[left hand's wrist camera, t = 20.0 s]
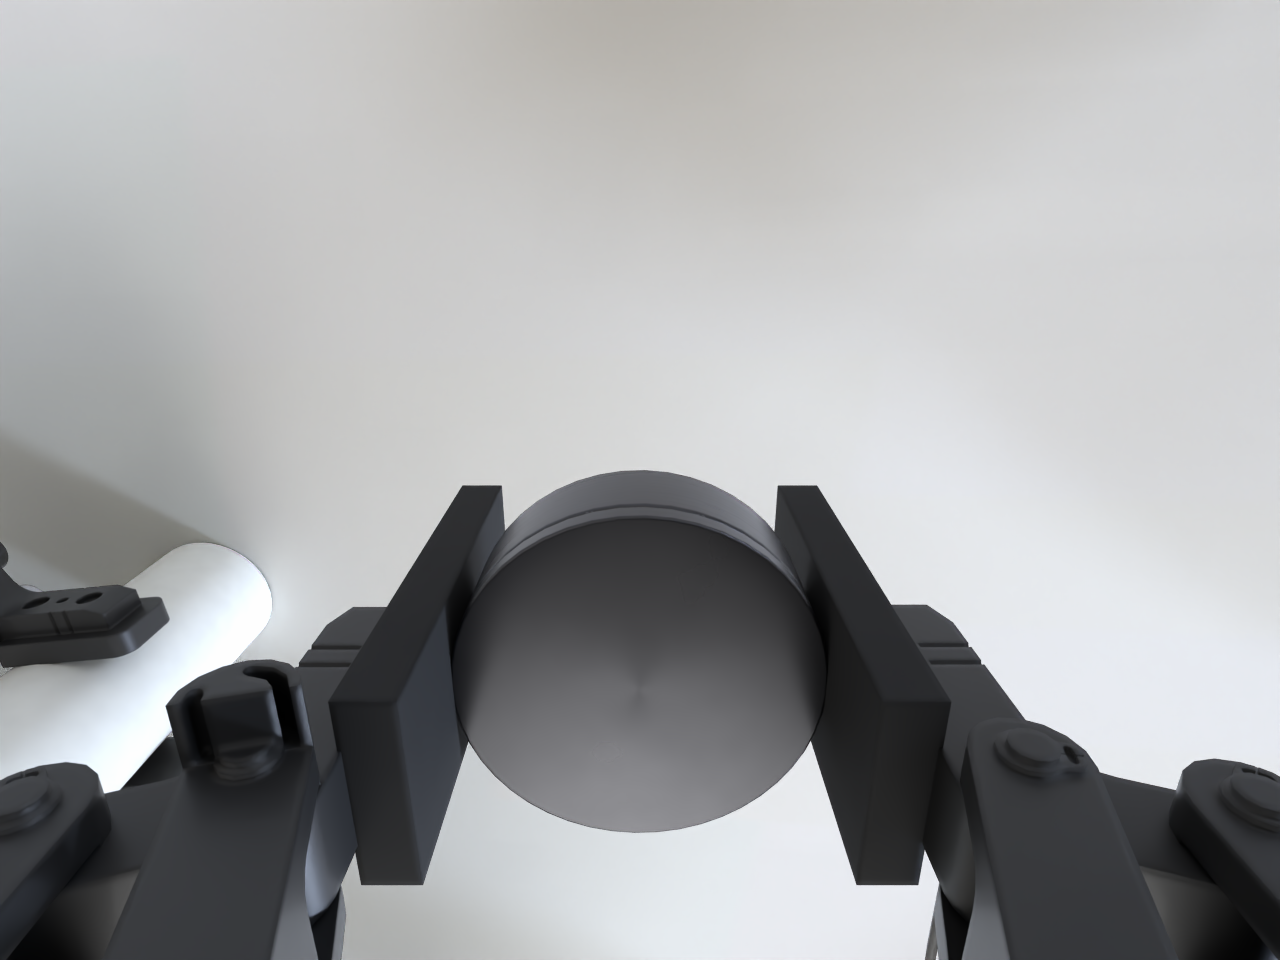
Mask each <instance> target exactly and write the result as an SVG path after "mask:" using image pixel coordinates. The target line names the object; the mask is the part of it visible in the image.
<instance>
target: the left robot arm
mask: <svg viewBox="0 0 1280 960" xmlns="http://www.w3.org/2000/svg"><path fill="white" fill-rule="evenodd" d="M504 532H505V525H504V511H503V497H502V486H462V487H461V489H460V490H459V492H458V494H457V495H456V497H455V498H454V500H453V502H452V503H451V505H450V507H449V508H448V510H447V511H446V513H445V515H444V516H443V518H442V519H441V521H440V523H439V524H438V526H437V527H436V529H435V531H434V532H433V534H432V535H431V537H430V539H429V540H428V542H427V543H426V545H425V547H424V548H423V550H422V551H421V553H420V555H419V556H418V558H417V560H416V561H415V563H414V564H413V566H412V568H411V569H410V571H409V572H408V574H407V576H406V577H405V579H404V580H403V582H402V584H401V585H400V587H399V588H398V590H397V592H396V593H395V595H394V596H393V598H392V600H391V601H390V603H389V604H388V606H387V607H353V608H351V609H350V610H348V611H347V612H345V613H344V614H342V615H341V616H339V617H338V618H336V619H335V620H333V621H332V622H330V623H329V624H328V625H327V626H326V627H325V628H324V630H323V631H322V632H321V634H320V635H319V636H318V638H317V639H316V640H315V642H314V643H313V644H312V649H311V650H308V651H307V653H306V654H305V655H304V657H303V658H302V659H301V661H300V662H299V667H296V668H293V667H292V666H291V665H290V664H288V663H284V662H279V661H275V660H249V661H244V662H240V663H235V664H231V665H227V666H223V667H220V668H218V669H215V670H213V671H211V672H208V673H206V674H204V675H201V676H199V677H197V678H196V679H194V680H193V681H191V682H190V683H188V684H187V685H185V686H184V687H182V688H181V689H179V690H178V691H177V692H176V693H175V695H174V696H173V697H172V698H171V699H170V701H169V702H168V703H167V704H166V706H165V707H166V711H167V714H168V718H169V721H170V725H171V728H172V732H173V736H174V739H175V743H176V746H177V750H178V754H179V757H180V761H181V764H182V768H183V769H182V771H181V773H180V776H177V777H173V778H170V779H166V780H163V781H159V782H154V783H149V784H145V785H140V786H136V787H131V788H127V789H122V790H118V791H113V792H109V793H104V791H103V788H102V785H101V782H100V779H99V776H98V774H97V773H96V772H95V771H94V770H92V769H91V768H90V767H89V766H87V765H85V764H78V763H70V762H62V763H55V764H48V765H41V766H37V767H34V768H30V769H26V770H25V771H20V772H18V773H15V774H12V775H10V776H7V777H5V778H4V779H2V780H0V960H341V958H342V949H343V939H344V930H345V920H346V911H345V904H344V897H343V892H342V887H341V883H342V881H343V879H344V876H345V874H346V872H347V870H348V867H349V865H350V863H351V860H352V858H353V856H354V854H355V853H356V858H357V864H358V869H359V875H360V880H361V885H423V883H424V880H425V877H426V874H427V871H428V867H429V864H430V861H431V858H432V855H433V852H434V848H435V845H436V842H437V839H438V836H439V833H440V830H441V826H442V823H443V820H444V817H445V814H446V811H447V807H448V804H449V801H450V798H451V795H452V792H453V788H454V785H455V782H456V779H457V776H458V773H459V770H460V766H461V763H462V760H463V757H464V754H465V751H466V747H467V744H468V739H467V737H466V735H465V733H464V731H463V729H462V727H461V724H460V721H459V718H458V715H457V712H456V708H455V701H454V692H453V683H452V672H451V659H452V653H453V647H454V641H455V638H456V635H457V632H458V629H459V626H460V623H461V620H462V618H463V615H464V613H465V611H466V609H467V606H468V604H469V601H470V599H471V597H472V594H473V592H474V590H475V587H476V585H477V583H478V580H479V578H480V575H481V573H482V571H483V568H484V566H485V564H486V562H487V560H488V558H489V556H490V554H491V552H492V550H493V548H494V546H495V545H496V543H497V542H498V541H499V539H500V538H501V536H502V535H503V533H504ZM775 533H776V535H777V536H778V537H779V538H780V540H781V542H782V543H783V545H784V547H785V548H786V550H787V552H788V553H789V555H790V557H791V560H792V562H793V564H794V567H795V569H796V571H797V574H798V576H799V578H800V581H801V583H802V586H803V588H804V590H805V593H806V595H807V597H808V600H809V602H810V604H811V607H812V609H813V611H814V614H815V616H816V619H817V621H818V623H819V626H820V628H821V630H822V634H823V638H824V642H825V646H826V650H827V660H828V677H827V687H826V696H825V704H824V709H823V713H822V716H821V718H820V721H819V724H818V726H817V729H816V731H815V734H814V735H813V737H812V739H811V743H812V746H813V749H814V752H815V755H816V758H817V761H818V765H819V768H820V771H821V774H822V777H823V780H824V784H825V787H826V790H827V793H828V796H829V799H830V802H831V806H832V809H833V812H834V815H835V818H836V821H837V825H838V828H839V831H840V834H841V837H842V840H843V844H844V847H845V850H846V853H847V856H848V859H849V862H850V866H851V869H852V872H853V875H854V878H855V881H856V885H918V883H919V878H920V872H921V867H922V861H923V856H924V850H925V851H926V853H927V856H928V858H929V860H930V862H931V865H932V867H933V869H934V871H935V874H936V876H937V878H938V881H939V887H938V892H937V897H936V902H935V907H934V913H933V918H932V923H931V928H930V933H929V938H928V943H927V950H926V957H925V960H936V955H937V950H938V956H939V960H1280V777H1279V776H1278V775H1276V774H1274V773H1272V772H1269V771H1267V770H1264V769H1261V768H1257V767H1255V766H1252V765H1248V764H1244V763H1241V762H1235V761H1228V760H1220V759H1208V760H1201V761H1194V762H1193V763H1191V764H1190V765H1189V766H1188V767H1186V768H1185V769H1184V770H1183V771H1182V774H1181V777H1180V780H1179V783H1178V786H1177V789H1176V790H1172V789H1168V788H1163V787H1159V786H1154V785H1149V784H1145V783H1140V782H1136V781H1131V780H1127V779H1122V778H1117V777H1114V776H1110V775H1107V774H1103V773H1100V772H1099V770H1098V768H1097V766H1096V765H1095V763H1094V762H1093V760H1092V759H1091V758H1090V756H1089V755H1088V753H1087V752H1086V751H1085V750H1084V749H1083V748H1081V747H1080V746H1079V745H1077V744H1076V743H1075V742H1074V741H1072V740H1071V739H1070V738H1068V737H1067V736H1065V735H1063V734H1061V733H1059V732H1057V731H1055V730H1053V729H1051V728H1049V727H1047V726H1045V725H1042V724H1038V723H1034V722H1031V721H1027V720H1025V719H1024V717H1023V716H1022V715H1021V713H1020V712H1019V711H1018V709H1017V708H1016V707H1015V705H1014V704H1013V703H1012V701H1011V700H1010V699H1009V697H1008V696H1007V695H1006V693H1005V692H1004V690H1003V689H1002V688H1001V686H1000V685H999V684H998V682H997V681H996V680H995V678H994V677H993V676H992V674H991V673H990V672H989V670H988V669H987V668H986V666H985V665H981V660H980V658H979V657H978V655H977V654H976V653H975V651H974V650H973V649H972V647H968V642H967V641H966V639H965V638H964V637H963V635H962V634H961V633H960V631H959V630H958V629H957V627H956V626H955V625H954V623H953V622H952V621H950V620H949V619H947V618H946V617H944V616H943V615H941V614H940V613H938V612H937V611H935V610H934V609H932V608H931V607H929V606H928V605H891V604H890V602H889V600H888V599H887V597H886V596H885V594H884V592H883V591H882V589H881V588H880V586H879V584H878V583H877V581H876V580H875V578H874V576H873V575H872V573H871V572H870V570H869V568H868V567H867V565H866V563H865V562H864V560H863V559H862V557H861V555H860V554H859V552H858V551H857V549H856V547H855V546H854V544H853V543H852V541H851V539H850V538H849V536H848V535H847V533H846V531H845V530H844V528H843V527H842V525H841V523H840V522H839V520H838V519H837V517H836V515H835V514H834V512H833V510H832V509H831V507H830V506H829V504H828V502H827V501H826V499H825V498H824V496H823V494H822V493H821V491H820V490H819V488H818V486H778V491H777V505H776V519H775Z"/></svg>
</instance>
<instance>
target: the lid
mask: <svg viewBox="0 0 1280 960" xmlns="http://www.w3.org/2000/svg"><path fill="white" fill-rule="evenodd" d="M451 672H452V683H453V692H454V701H455V708H456V712H457V715H458V718H459V721H460V724H461V727H462V729H463V731H464V733H465V735H466V737H467V739H468V741H469V743H470V745H471V746H472V748H473V749H474V751H475V752H476V754H477V755H478V757H479V758H480V760H481V761H482V762H483V763H484V764H485V765H486V767H487V768H488V769H489V770H490V771H491V772H492V773H493V775H494V776H495V777H496V778H498V779H499V780H500V781H501V782H502V783H503V784H504V785H505V786H507V787H508V788H509V789H510V790H511V791H513V792H514V793H516V794H517V795H518V796H520V797H521V798H523V799H524V800H526V801H527V802H529V803H530V804H532V805H534V806H536V807H538V808H540V809H542V810H544V811H545V812H547V813H550V814H552V815H555V816H557V817H560V818H562V819H565V820H567V821H570V822H574V823H577V824H581V825H584V826H588V827H592V828H598V829H603V830H609V831H619V832H632V833H639V832H661V831H669V830H677V829H682V828H686V827H691V826H695V825H699V824H703V823H706V822H708V821H711V820H714V819H717V818H720V817H723V816H725V815H727V814H729V813H731V812H733V811H735V810H737V809H740V808H742V807H743V806H745V805H747V804H748V803H750V802H751V801H753V800H755V799H756V798H758V797H760V796H761V795H762V794H764V793H765V792H766V791H767V790H769V789H770V788H771V787H772V786H774V785H775V784H776V783H777V782H778V781H779V780H780V779H781V778H782V777H783V776H784V775H785V774H786V773H787V772H788V771H789V770H790V769H791V768H792V767H793V766H794V764H795V763H796V762H797V760H798V759H799V758H800V757H801V755H802V754H803V753H804V751H805V750H806V748H807V746H808V744H809V742H810V741H811V739H812V737H813V735H814V734H815V731H816V729H817V726H818V724H819V721H820V718H821V716H822V713H823V709H824V704H825V696H826V687H827V677H828V660H827V650H826V646H825V642H824V638H823V634H822V630H821V628H820V626H819V623H818V621H817V619H816V616H815V614H814V611H813V609H812V607H811V604H810V602H809V600H808V597H807V595H806V593H805V590H804V588H803V586H802V583H801V581H800V578H799V576H798V574H797V571H796V569H795V567H794V564H793V562H792V560H791V557H790V555H789V553H788V552H787V550H786V548H785V547H784V545H783V543H782V542H781V540H780V538H779V537H778V536H777V535H776V533H775V532H774V531H773V530H772V529H771V527H770V526H769V525H768V524H767V523H766V521H765V520H763V519H762V518H761V517H760V516H759V515H758V514H757V513H756V512H755V511H754V510H752V509H751V508H750V507H749V506H747V505H746V504H744V503H743V502H742V501H740V500H739V499H737V498H736V497H734V496H733V495H731V494H729V493H727V492H725V491H723V490H721V489H719V488H717V487H715V486H713V485H711V484H708V483H705V482H703V481H700V480H697V479H694V478H691V477H687V476H683V475H678V474H673V473H669V472H659V471H648V470H637V471H619V472H612V473H606V474H600V475H596V476H592V477H589V478H585V479H582V480H579V481H576V482H573V483H571V484H569V485H566V486H564V487H562V488H559V489H557V490H555V491H554V492H552V493H550V494H549V495H547V496H545V497H544V498H542V499H540V500H539V501H537V502H536V503H534V504H533V505H532V506H531V507H529V508H528V509H527V510H526V511H524V512H523V513H522V514H521V515H520V516H519V517H518V518H517V519H516V520H515V521H514V522H513V523H512V524H511V525H510V526H509V527H508V528H507V529H506V531H505V532H504V533H503V535H502V536H501V538H500V539H499V541H498V542H497V543H496V545H495V546H494V548H493V550H492V552H491V554H490V556H489V558H488V560H487V562H486V564H485V566H484V568H483V571H482V573H481V575H480V578H479V580H478V583H477V585H476V587H475V590H474V592H473V594H472V597H471V599H470V601H469V604H468V606H467V609H466V611H465V613H464V615H463V618H462V620H461V623H460V626H459V629H458V632H457V635H456V638H455V641H454V647H453V653H452V659H451Z"/></svg>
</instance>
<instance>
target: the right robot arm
mask: <svg viewBox="0 0 1280 960" xmlns="http://www.w3.org/2000/svg"><path fill="white" fill-rule="evenodd" d="M7 562H8V553H7V550H6V548H5V547H4V546H3V544H2V543H1V542H0V662H1V664H2V666H3V668H7V667H18V666H28V665H36V664H52V663H64V662H75V661H86V660H98V659H109V658H117V657H121V656H124V655H127V654H129V653H131V652H133V651H135V650H137V649H138V648H140V647H141V646H142V645H143V644H144V643H145V642H147V641H148V640H149V639H150V638H151V637H152V636H153V635H154V634H156V633H157V632H158V631H159V630H160V629H161V628H162V627H163V626H165V625H166V624H167V623H168V622H169V620H170V618H169V615H168V613H167V610H166V608H165V605H164V602H163V600H162V598H161V597H146V598H139V596H138V593H137V591H136V589H133V588H129V587H124V586H120V585H110V586H100V587H89V588H85V589H84V588H78V589H68V590H57V591H46V592H43V591H42V590H40V589H38V588H37V587H34V586H31V585H20V586H19V585H18V584H17V583H15V582H14V581H13V580H12V579H11V578H10V577H9V576H8V574H7V573H6V572H5V571H4V570H3V569H2V568H3V567H4V566H5V565H6V564H7ZM182 769H183V768H182V764H181V761H180V757H179V754H178V750H177V746H176V743H175V739H174V737H168V738H166V739H165V740H164V741H163V742H162V743H161V744H160V745H159V746H158V748H157V749H156V750H155V751H154V752H153V753H152V754H151V755H150V757H149V758H148V759H147V760H146V761H145V762H144V763H143V764H142V766H141V767H140V768H139V769H138V770H137V771H136V772H135V773H134V775H133V776H132V777H131V778H130V779H129V780H128V781H127V782H126V783H125V785H124V786H123V787H122V788H121V789H120V790H122V789H127V788H131V787H136V786H140V785H145V784H149V783H154V782H159V781H163V780H166V779H170V778H173V777H177V776H180V773H181V771H182Z"/></svg>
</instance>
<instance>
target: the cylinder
mask: <svg viewBox="0 0 1280 960" xmlns="http://www.w3.org/2000/svg"><path fill="white" fill-rule="evenodd" d="M124 587H129V588H133V589H136V591H137V593H138V596H139V598H146V597H161V598H162V600H163V602H164V605H165V608H166V610H167V613H168V615H169V618H170V620H169V622H168V623H167V624H166V625H165V626H163V627H162V628H161V629H160V630H159V631H158V632H157V633H156V634H154V635H153V636H152V637H151V638H150V639H149V640H148V641H147V642H145V643H144V644H143V645H142V646H141V647H140V648H138V649H137V650H135V651H133V652H131V653H129V654H127V655H124V656H121V657H117V658H109V659H98V660H86V661H75V662H64V663H52V664H36V665H28V666H18V667H13V668H12V669H11V670H9V671H8V672H7V673H5V674H4V675H3V676H1V677H0V780H2V779H4V778H5V777H7V776H10V775H12V774H15V773H18V772H20V771H25V770H26V769H30V768H34V767H37V766H41V765H48V764H55V763H62V762H70V763H78V764H85V765H87V766H89V767H90V768H91V769H92V770H94V771H95V772H96V773H97V774H98V776H99V779H100V782H101V785H102V788H103V791H104V793H109V792H113V791H118V790H120V789H121V788H122V787H123V786H124V785H125V783H126V782H127V781H128V780H129V779H130V778H131V777H132V776H133V775H134V773H135V772H136V771H137V770H138V769H139V768H140V767H141V766H142V764H143V763H144V762H145V761H146V760H147V759H148V758H149V757H150V755H151V754H152V753H153V752H154V751H155V750H156V749H157V748H158V746H159V745H160V744H161V743H162V742H163V741H164V740H165V739H166V738H167V736H168V735H169V734H170V733H171V732H172V728H171V725H170V721H169V718H168V714H167V711H166V707H165V706H166V704H167V703H168V702H169V701H170V699H171V698H172V697H173V696H174V695H175V693H176V692H177V691H178V690H179V689H181V688H182V687H184V686H185V685H187V684H188V683H190V682H191V681H193V680H194V679H196V678H197V677H199V676H201V675H204V674H206V673H208V672H211V671H213V670H215V669H218V668H220V667H223V666H227V665H231V664H232V663H233V662H234V661H235V660H236V659H237V658H238V657H239V656H240V655H241V653H242V652H243V651H244V650H245V649H246V648H247V647H248V646H249V644H250V643H251V642H252V641H253V640H254V639H255V638H256V637H257V635H258V634H259V633H260V632H261V631H262V630H263V629H264V628H265V626H266V624H267V623H268V621H269V618H270V615H271V611H272V597H271V593H270V589H269V587H268V584H267V582H266V580H265V578H264V577H263V575H262V574H261V572H260V571H259V570H258V569H257V568H256V566H255V565H254V564H252V563H251V562H250V561H249V560H248V559H247V558H245V557H244V556H242V555H241V554H239V553H237V552H236V551H234V550H231V549H229V548H227V547H224V546H221V545H217V544H212V543H191V544H186V545H182V546H179V547H177V548H175V549H173V550H172V551H170V552H168V553H167V554H166V555H164V556H163V557H162V558H160V559H159V560H158V561H156V562H155V563H154V564H152V565H151V566H150V567H148V568H147V569H146V570H144V571H143V572H142V573H140V574H139V575H137V576H136V577H135V578H133V579H132V580H131V581H129V582H128V583H127V584H125V585H124Z"/></svg>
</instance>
